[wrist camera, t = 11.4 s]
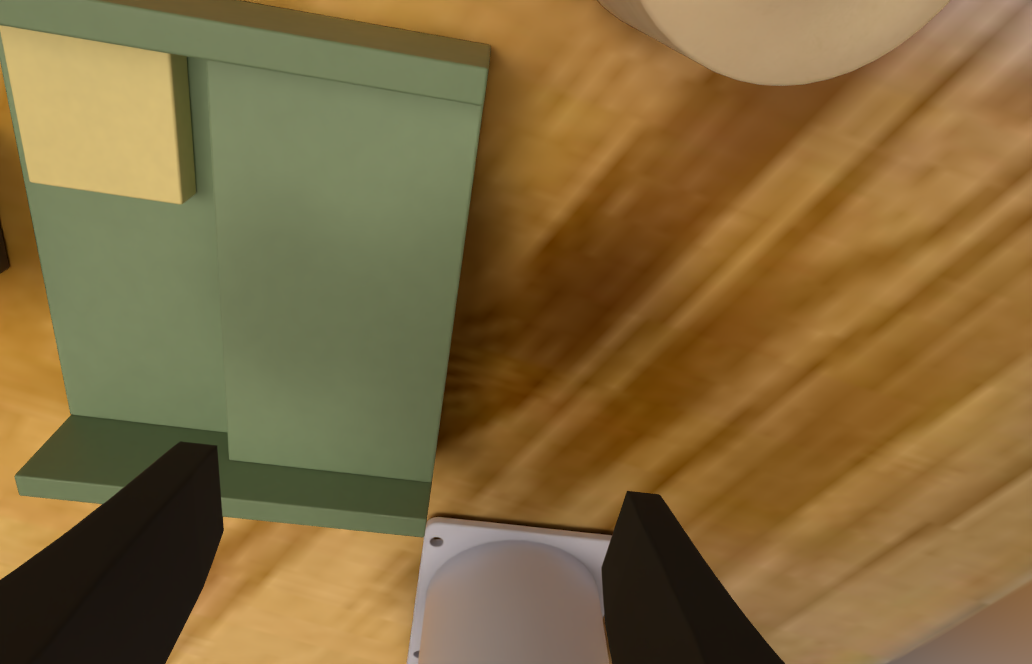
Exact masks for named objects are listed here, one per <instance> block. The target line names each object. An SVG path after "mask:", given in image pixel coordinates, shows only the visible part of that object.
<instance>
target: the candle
mask: <svg viewBox="0 0 1032 664" xmlns="http://www.w3.org/2000/svg"><path fill="white" fill-rule="evenodd" d="M949 1H950V0H598V2H599V3H600V4H601V5H602V6H603V7H604V8H605V9H607V10H608V11H609V12H611V13H612V14H613V15H615V16H616V17H617V18H619V19H620V20H622V21H623V22H625V23H627V24H629V25H630V26H632V27H634V28H636V29H638V30H639V31H641V32H643V33H645V34H647V35H648V36H650V37H652V38H654V39H656V40H658V41H659V42H661V43H663V44H665V45H667V46H668V47H670V48H672V49H674V50H676V51H677V52H679V53H681V54H683V55H685V56H687V57H688V58H690V59H692V60H694V61H696V62H697V63H699V64H701V65H703V66H705V67H707V68H708V69H710V70H712V71H714V72H717V73H719V74H722V75H725V76H727V77H730V78H732V79H735V80H739V81H744V82H749V83H753V84H758V85H773V86H788V85H802V84H808V83H813V82H818V81H823V80H828V79H831V78H834V77H837V76H840V75H843V74H846V73H849V72H852V71H854V70H856V69H858V68H860V67H862V66H864V65H867V64H869V63H871V62H873V61H875V60H877V59H878V58H880V57H882V56H883V55H885V54H887V53H888V52H890V51H891V50H893V49H895V48H896V47H898V46H900V45H901V44H902V43H903V42H905V41H906V40H907V39H909V38H910V37H911V36H913V35H914V34H915V33H916V32H918V31H919V30H920V29H922V28H923V27H924V26H925V25H926V24H927V23H928V22H929V21H930V20H931V19H932V18H933V17H935V16H936V15H937V14H938V13H939V12H940V11H941V10H942V9H943V8H944V7H945V6H946V5H947V4H948V2H949Z"/></svg>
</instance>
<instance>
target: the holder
mask: <svg viewBox="0 0 1032 664" xmlns="http://www.w3.org/2000/svg"><path fill="white" fill-rule="evenodd" d="M8 268H9V263H8V259H7V254H6V250H5V245H4V241H3V237H2V232H1V228H0V273H2V272H4V271H5V270H7V269H8Z"/></svg>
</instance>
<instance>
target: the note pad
mask: <svg viewBox="0 0 1032 664" xmlns="http://www.w3.org/2000/svg"><path fill="white" fill-rule="evenodd" d="M0 32H1V38H2V43H3V48H4V53H5V58H6V63H7V68H8V73H9V79H10V84H11V89H12V94H13V99H14V104H15V109H16V114H17V120H18V125H19V130H20V135H21V140H22V145H23V150H24V155H25V161H26V166H27V171H28V176H29V180H30V182H32V183H38V184H44V185H51V186H58V187H65V188H72V189H78V190H85V191H92V192H99V193H106V194H112V195H119V196H126V197H133V198H140V199H146V200H153V201H160V202H167V203H174V204H183V203H184V202H186V201H187V200H188V199H190V198H191V197H192V196H193V195H195V194H196V183H195V169H194V155H193V141H192V127H191V112H190V98H189V84H188V70H187V56H181V55H175V54H169V53H163V52H157V51H151V50H145V49H139V48H133V47H127V46H121V45H115V44H110V43H104V42H98V41H92V40H86V39H80V38H74V37H68V36H62V35H56V34H50V33H44V32H38V31H32V30H26V29H20V28H14V27H8V26H2V25H0Z"/></svg>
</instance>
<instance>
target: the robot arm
mask: <svg viewBox="0 0 1032 664" xmlns="http://www.w3.org/2000/svg"><path fill="white" fill-rule="evenodd" d="M223 531H224V528H223V515H222V502H221V489H220V476H219V463H218V450H217V445H209V444H200V443H191V442H182V441H180V442H179V443H177V444H176V445H174V446H173V447H172V448H171V449H169V450H168V451H167V452H166V453H164V454H163V455H162V456H161V457H160V458H158V459H157V460H156V461H155V462H154V463H152V464H151V465H150V466H149V467H148V468H146V469H145V470H144V471H143V472H142V473H140V474H139V475H138V476H137V477H136V478H134V479H133V480H132V481H131V482H129V483H128V484H127V485H126V486H125V487H123V488H122V489H121V490H120V491H118V492H117V493H116V494H115V495H114V496H112V497H111V498H110V499H109V500H107V501H106V502H105V503H103V504H102V505H101V506H100V507H98V508H97V509H96V510H95V511H93V512H92V513H91V514H89V515H88V516H87V517H86V518H84V519H83V520H82V521H80V522H79V523H78V524H77V525H75V526H74V527H73V528H72V529H70V530H69V531H68V532H66V533H65V534H64V535H62V536H61V537H60V538H58V539H57V540H56V541H54V542H53V543H51V544H50V545H49V546H47V547H46V548H44V549H43V550H42V551H40V552H39V553H38V554H36V555H35V556H33V557H32V558H31V559H29V560H28V561H26V562H25V563H24V564H22V565H21V566H19V567H18V568H17V569H15V570H14V571H13V572H11V573H10V574H8V575H7V576H5V577H4V578H2V579H1V580H0V664H165V663H166V661H167V659H168V657H169V655H170V653H171V651H172V649H173V647H174V645H175V643H176V641H177V639H178V637H179V635H180V633H181V631H182V629H183V627H184V625H185V623H186V621H187V619H188V617H189V615H190V613H191V611H192V609H193V607H194V605H195V603H196V601H197V599H198V597H199V595H200V593H201V591H202V589H203V587H204V584H205V581H206V579H207V576H208V573H209V570H210V568H211V565H212V562H213V560H214V557H215V554H216V551H217V548H218V545H219V542H220V540H221V537H222V534H223ZM434 537H438V538H441V539H434ZM603 616H605V625H606V631H607V637H608V642H609V648H610V653H611V658H612V664H785V663H784V662H783V661H782V660H781V659H780V657H779V656H778V655H777V654H776V653H775V652H774V650H773V649H772V648H771V647H770V646H769V644H768V643H767V642H766V641H765V640H764V638H763V637H762V636H761V635H760V633H759V632H758V631H757V630H756V628H755V627H754V626H753V625H752V624H751V622H750V621H749V620H748V618H747V617H746V616H745V615H744V613H743V612H742V611H741V609H740V608H739V607H738V605H737V604H736V603H735V601H734V600H733V599H732V597H731V596H730V595H729V593H728V592H727V591H726V589H725V588H724V586H723V585H722V584H721V582H720V581H719V580H718V578H717V577H716V576H715V574H714V573H713V571H712V570H711V569H710V567H709V566H708V564H707V563H706V562H705V560H704V559H703V557H702V556H701V554H700V553H699V551H698V550H697V548H696V547H695V546H694V544H693V543H692V541H691V540H690V538H689V537H688V535H687V534H686V532H685V531H684V529H683V528H682V526H681V525H680V523H679V522H678V520H677V519H676V517H675V516H674V514H673V513H672V512H671V510H670V509H669V507H668V506H667V504H666V503H665V501H664V500H663V498H662V497H661V496H660V495H659V494H650V493H641V492H632V491H627V493H626V496H625V499H624V502H623V505H622V508H621V511H620V514H619V517H618V520H617V523H616V526H615V529H614V532H613V534H612V535H604V534H595V533H585V532H576V531H567V530H557V529H548V528H539V527H529V526H520V525H511V524H501V523H492V522H483V521H473V520H464V519H455V518H445V517H434V518H431V519H429V520H428V521H427V523H426V529H425V536H424V541H423V549H422V556H421V563H420V571H419V578H418V585H417V593H416V600H415V607H414V614H413V622H412V629H411V636H410V644H409V651H408V658H407V664H609V659H608V652H607V646H606V639H605V632H604V626H603Z"/></svg>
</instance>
